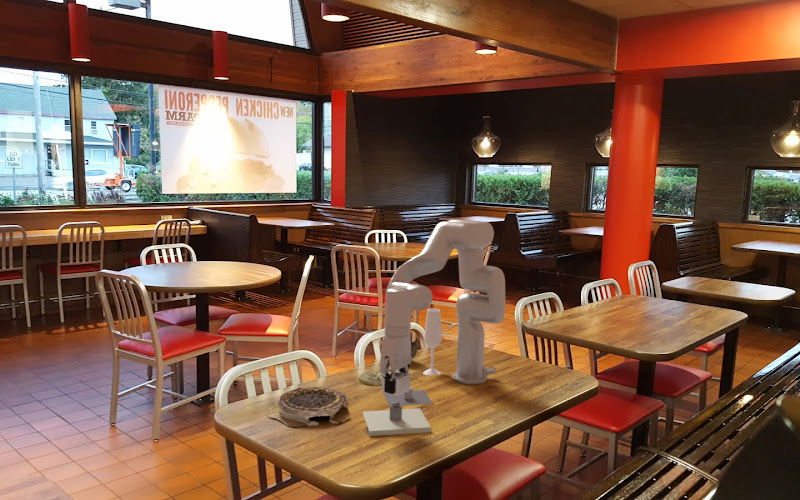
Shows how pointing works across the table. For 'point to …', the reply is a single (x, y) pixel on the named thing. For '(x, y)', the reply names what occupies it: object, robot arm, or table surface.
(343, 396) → the pie
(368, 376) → the decorated donut
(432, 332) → the champagne flute
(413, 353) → the cup
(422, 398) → the rod stand
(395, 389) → the collar
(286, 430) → the table surface
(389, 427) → the hub plate
